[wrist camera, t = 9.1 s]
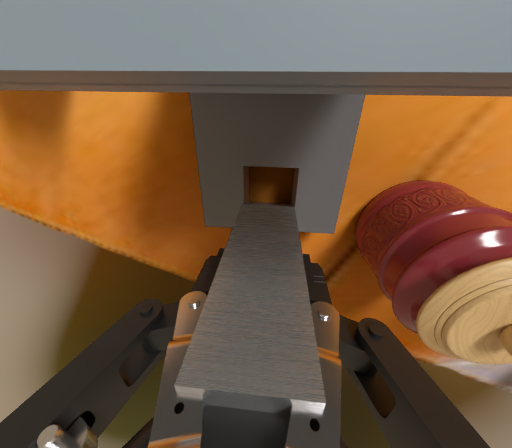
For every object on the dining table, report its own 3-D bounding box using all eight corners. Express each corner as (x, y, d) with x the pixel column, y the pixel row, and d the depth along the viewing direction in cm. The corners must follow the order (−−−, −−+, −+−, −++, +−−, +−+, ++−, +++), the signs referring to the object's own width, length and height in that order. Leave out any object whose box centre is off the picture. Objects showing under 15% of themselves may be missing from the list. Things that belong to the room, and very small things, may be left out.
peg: (294, 206, 16) (326, 403, 5) (289, 250, 18) (305, 456, 7) (241, 203, 16) (174, 385, 6) (242, 247, 18) (193, 441, 8)
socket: (356, 54, 20) (377, 41, 16) (325, 214, 29) (333, 233, 24) (202, 54, 21) (183, 42, 17) (215, 208, 30) (205, 226, 25)
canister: (433, 267, 31) (582, 424, 16) (342, 258, 32) (402, 401, 17) (483, 181, 25) (815, 304, 10) (369, 173, 26) (505, 275, 10)
